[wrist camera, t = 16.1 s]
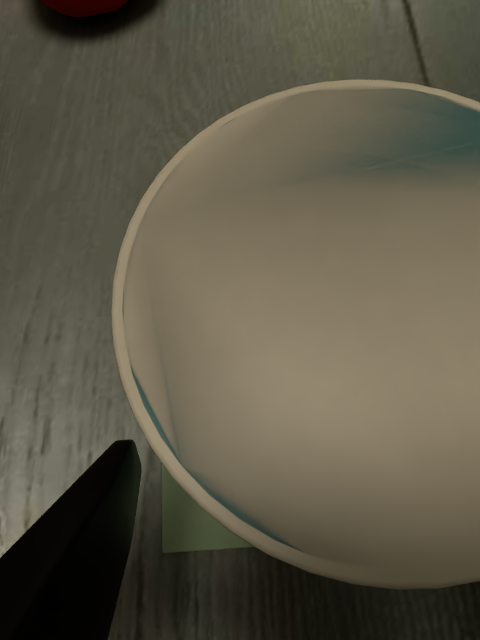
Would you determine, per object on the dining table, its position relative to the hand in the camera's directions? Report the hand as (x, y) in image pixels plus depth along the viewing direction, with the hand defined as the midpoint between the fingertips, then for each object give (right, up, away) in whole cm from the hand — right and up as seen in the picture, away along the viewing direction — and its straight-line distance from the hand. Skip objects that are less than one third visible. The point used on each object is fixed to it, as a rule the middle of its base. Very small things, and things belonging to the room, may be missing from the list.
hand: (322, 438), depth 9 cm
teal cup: (0, 0, +7) cm, 7 cm away
